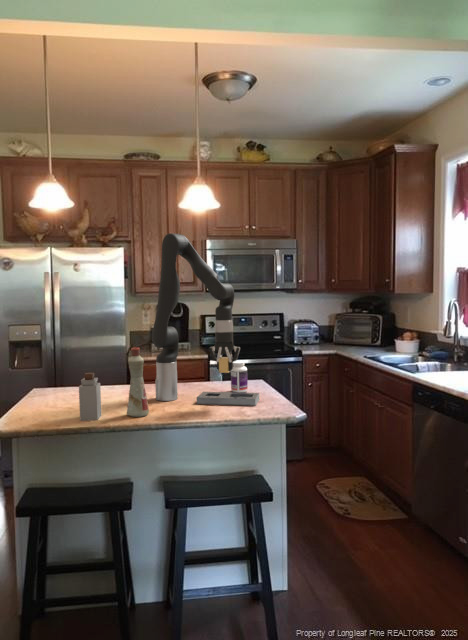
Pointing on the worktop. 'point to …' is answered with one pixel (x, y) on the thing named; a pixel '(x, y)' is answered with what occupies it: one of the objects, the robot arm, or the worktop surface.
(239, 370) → the pill bottle
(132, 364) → the bottle
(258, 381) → the worktop surface
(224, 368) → the block
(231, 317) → the robot arm
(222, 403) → the silver slotted board
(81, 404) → the perfume bottle
